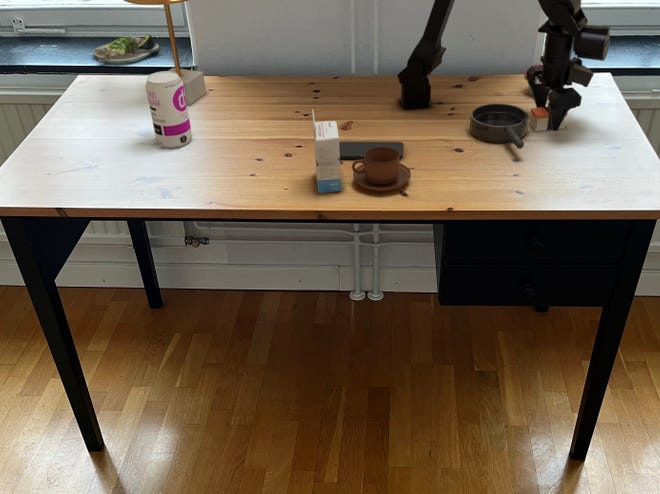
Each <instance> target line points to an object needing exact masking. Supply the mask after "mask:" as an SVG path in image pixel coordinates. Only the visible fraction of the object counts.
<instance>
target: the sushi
mask: <svg viewBox="0 0 660 494" xmlns="http://www.w3.org/2000/svg"><path fill="white" fill-rule="evenodd" d="M568 113H569V111H568V112H567V114H566V115H565V117H564V119H563V121H562V123H561V125H560V127H559V129H558V130H561V129H565V123H566V118H567V116H568ZM529 123H530V124H529V125H530V126H531V127H532V128H533V130H534V131H535V132H542V131H543V132H544V131H553V129H552V125H551V120H550V114H549V109H548V106H546V107H540V108H537V107H531V108H530V122H529Z"/></svg>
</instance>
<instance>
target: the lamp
mask: <svg viewBox="0 0 660 494" xmlns="http://www.w3.org/2000/svg"><path fill="white" fill-rule="evenodd" d="M123 1H124V2H125V3H130V4H132V5H133V4H134V5H141V6H162V5H163V8H164V14H165V19H166V25H167V30H168V36H169V41H170V47H171V48H170V49H171V53H172V60H173V65H174V67H172V68H170V69H169V70H168V71H172V72H176V73H178V75H179V77H180V78H181V80H182V81H183V85H184V91H185V97H186V102H187V106H191V105H192V104H194V103H195V102H196V101H198V100H199V99H200V98H202V97H203V96H205V95H206V94H207V88H206V81H205V74H204V72H203V71H200V70H192V69H185V68H181V64H180V58H179V53H178V46H177V42H176V35H175V30H174V23H173V18H172V11H171V7H170V5H173V4H179V3H184V2H188V1H189V0H123Z"/></svg>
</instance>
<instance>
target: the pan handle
mask: <svg viewBox="0 0 660 494" xmlns="http://www.w3.org/2000/svg"><path fill="white" fill-rule="evenodd" d="M505 132H506V134H507V135H508V136H509V138H510V139H511V140H512V142H511V143H512V144H514V146H515V147H516V148H517V149H521V150H522V149H523V148H524V146H525V142H524V141H523V140H522V137H521V138H520V137H519V136H518V135H517V133H516V132H515V131H514V130H513V128H512V127H507V128H506V129H505Z"/></svg>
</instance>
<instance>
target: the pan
mask: <svg viewBox="0 0 660 494" xmlns="http://www.w3.org/2000/svg"><path fill="white" fill-rule="evenodd" d="M528 124H529V113H528V112H527V111H526V110H525V109H524V108H521V107H520V106H517V105H515V104H514V105H513V104H509V103H486V104H481V105H479V106H476V107H474V108H473V109H472V110H471V112H470V114H469V125H468V126H469V128H468V129H469V132H470V134H472V135H473V136H474V137H475V138H477V139H478V140H481V141H482V142H483V141H484V142H487V143H494V144H497V143H498V144H505V143H513V142H512V140H511V139H510V138H509V136H508V135H507V134H506V132H505V129H506V128H507V127H512V128H513V130H514V131H515V132H516V133H517V135H518V136H519V137H520V138H521V139H522V138H523V137H524V136H525V135H526V133H527V131H528Z"/></svg>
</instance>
